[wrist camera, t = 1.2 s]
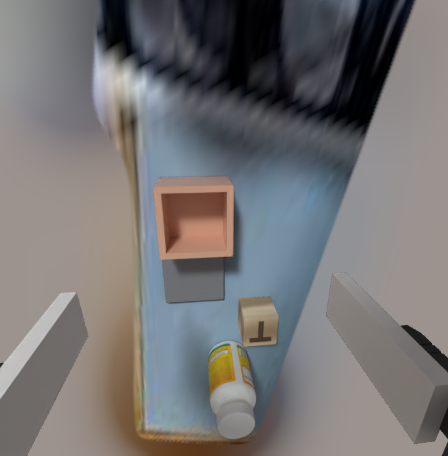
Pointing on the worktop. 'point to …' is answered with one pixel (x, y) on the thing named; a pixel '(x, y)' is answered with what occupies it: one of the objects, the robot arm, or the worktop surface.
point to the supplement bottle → (231, 389)
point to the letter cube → (257, 321)
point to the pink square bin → (194, 216)
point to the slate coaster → (193, 279)
